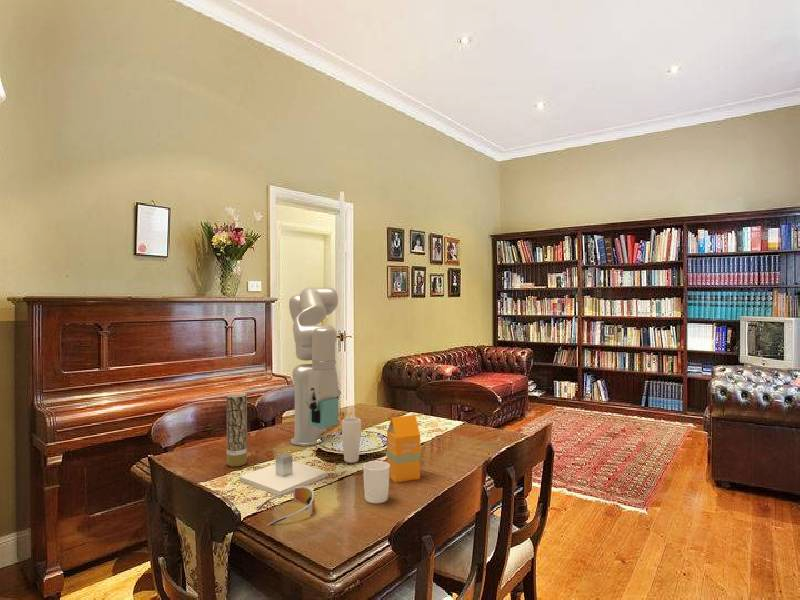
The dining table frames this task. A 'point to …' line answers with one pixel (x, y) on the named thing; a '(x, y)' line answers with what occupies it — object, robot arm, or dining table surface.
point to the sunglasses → (301, 495)
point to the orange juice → (403, 448)
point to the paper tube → (236, 429)
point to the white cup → (376, 481)
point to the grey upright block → (283, 465)
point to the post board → (283, 478)
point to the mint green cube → (326, 414)
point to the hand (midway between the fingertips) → (323, 419)
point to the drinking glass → (351, 438)
